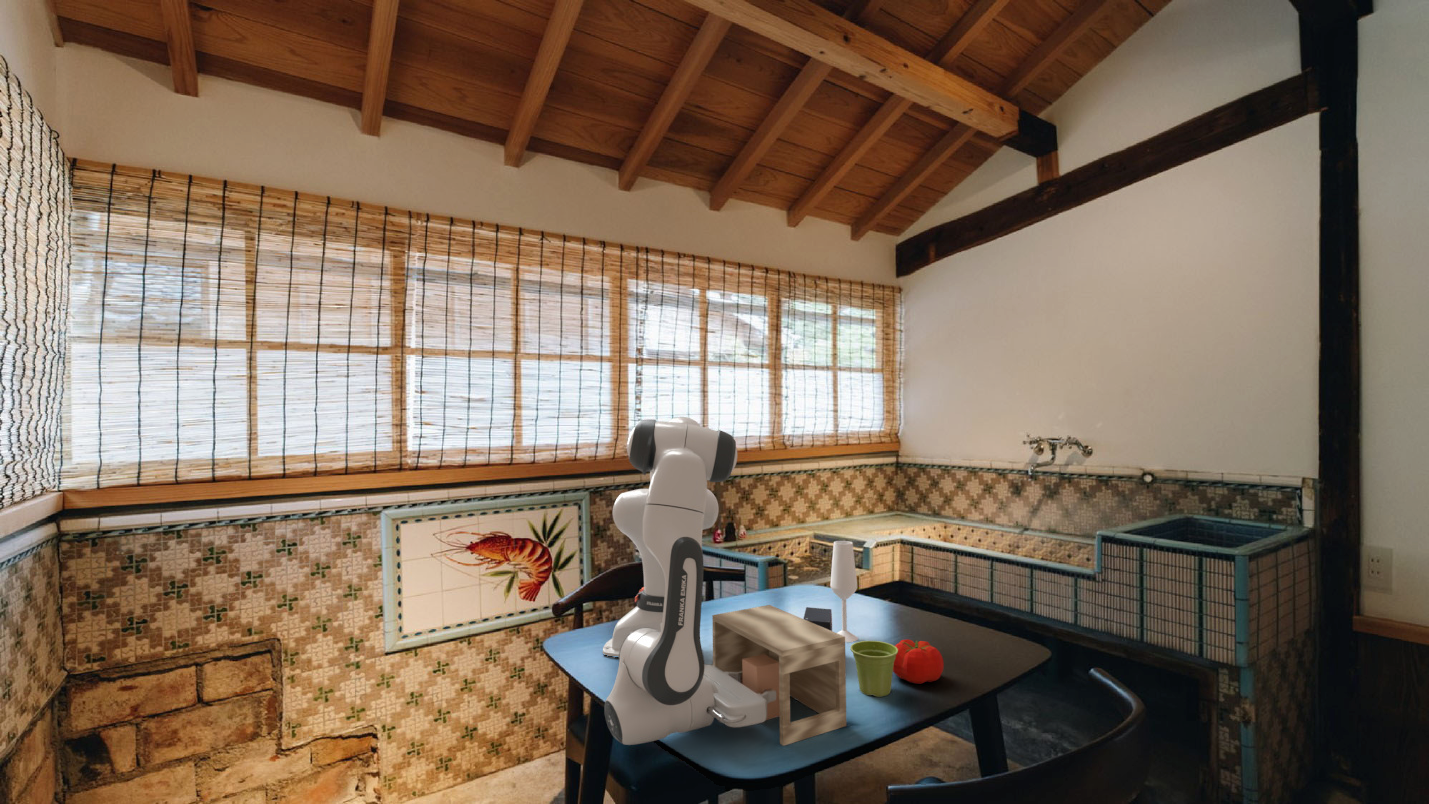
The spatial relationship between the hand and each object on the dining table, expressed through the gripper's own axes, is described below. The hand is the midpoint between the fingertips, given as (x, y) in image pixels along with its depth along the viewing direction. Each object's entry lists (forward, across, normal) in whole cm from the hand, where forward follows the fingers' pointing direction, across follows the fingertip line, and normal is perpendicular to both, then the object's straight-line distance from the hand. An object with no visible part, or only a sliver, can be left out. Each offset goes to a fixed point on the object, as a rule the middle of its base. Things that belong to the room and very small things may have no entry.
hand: (759, 684), depth 124 cm
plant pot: (+26, -3, +6) cm, 27 cm away
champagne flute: (+42, +25, +6) cm, 49 cm away
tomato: (+38, -3, +6) cm, 38 cm away
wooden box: (+4, 0, +5) cm, 6 cm away
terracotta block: (0, 0, +6) cm, 6 cm away
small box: (+27, +17, +6) cm, 32 cm away
